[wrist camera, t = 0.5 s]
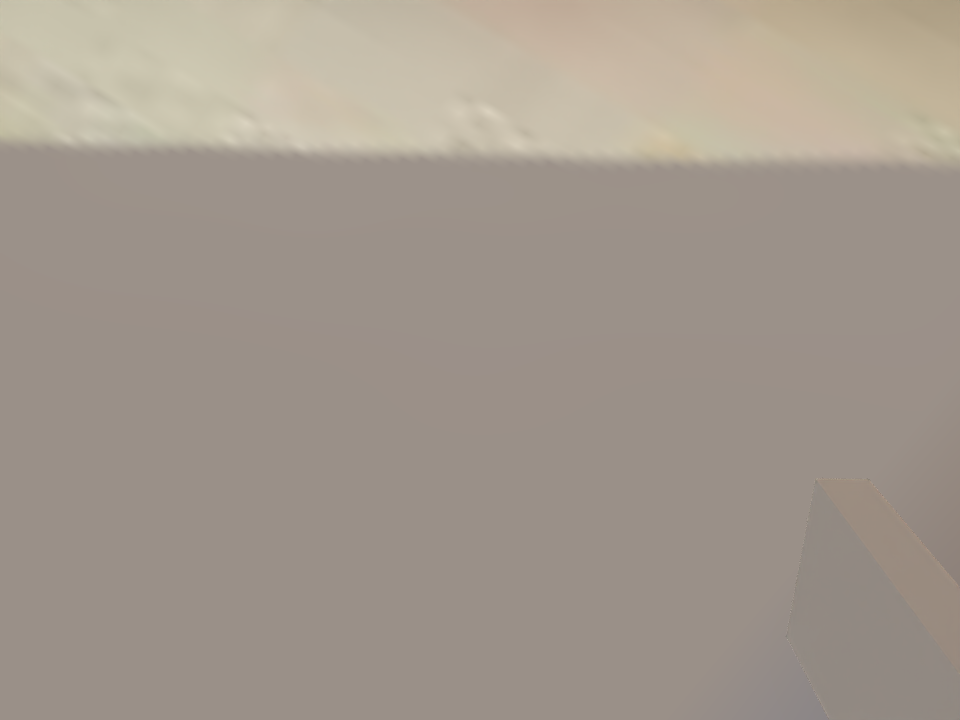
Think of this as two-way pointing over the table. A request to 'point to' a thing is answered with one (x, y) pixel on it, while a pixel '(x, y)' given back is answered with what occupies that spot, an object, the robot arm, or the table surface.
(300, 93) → the table surface
